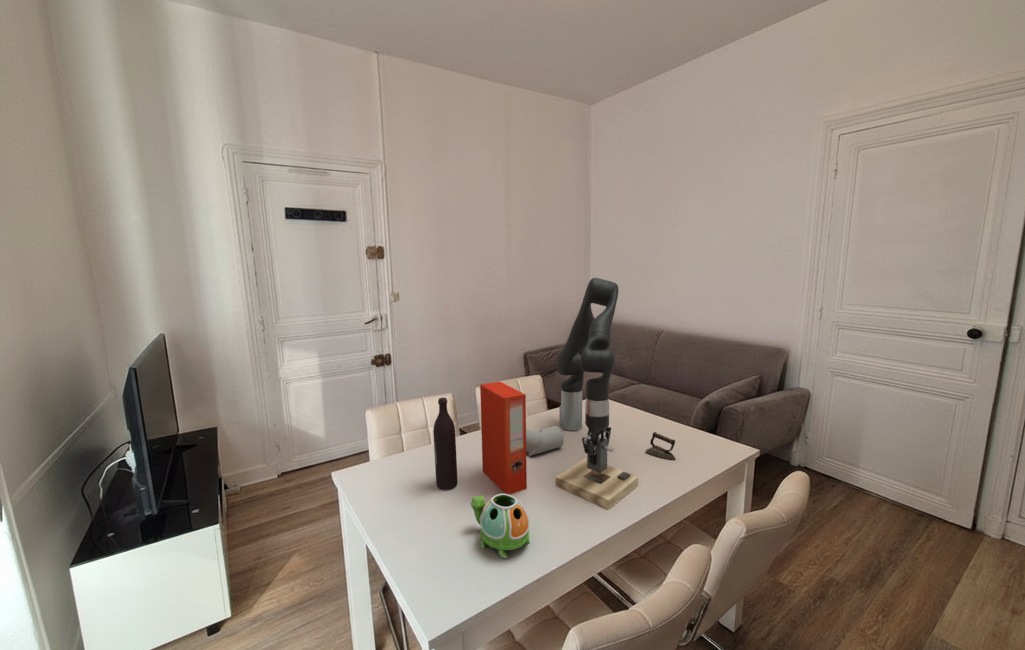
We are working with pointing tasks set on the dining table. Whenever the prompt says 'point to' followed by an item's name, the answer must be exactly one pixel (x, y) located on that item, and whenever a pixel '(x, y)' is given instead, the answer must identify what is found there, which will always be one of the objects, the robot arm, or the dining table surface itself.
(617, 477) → the socket board
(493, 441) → the file binder
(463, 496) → the dining table surface
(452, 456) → the wine bottle
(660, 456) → the clothes iron
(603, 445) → the plug
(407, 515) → the dining table surface
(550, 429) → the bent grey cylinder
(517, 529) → the turtle holder
